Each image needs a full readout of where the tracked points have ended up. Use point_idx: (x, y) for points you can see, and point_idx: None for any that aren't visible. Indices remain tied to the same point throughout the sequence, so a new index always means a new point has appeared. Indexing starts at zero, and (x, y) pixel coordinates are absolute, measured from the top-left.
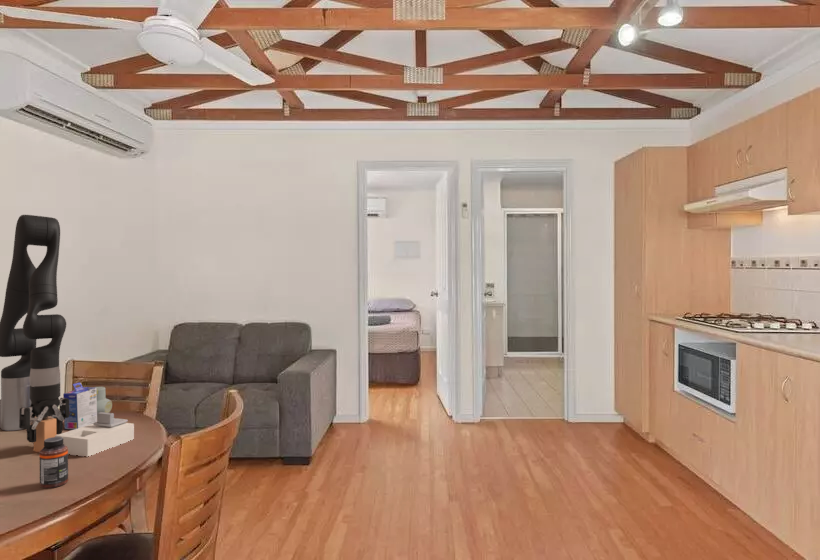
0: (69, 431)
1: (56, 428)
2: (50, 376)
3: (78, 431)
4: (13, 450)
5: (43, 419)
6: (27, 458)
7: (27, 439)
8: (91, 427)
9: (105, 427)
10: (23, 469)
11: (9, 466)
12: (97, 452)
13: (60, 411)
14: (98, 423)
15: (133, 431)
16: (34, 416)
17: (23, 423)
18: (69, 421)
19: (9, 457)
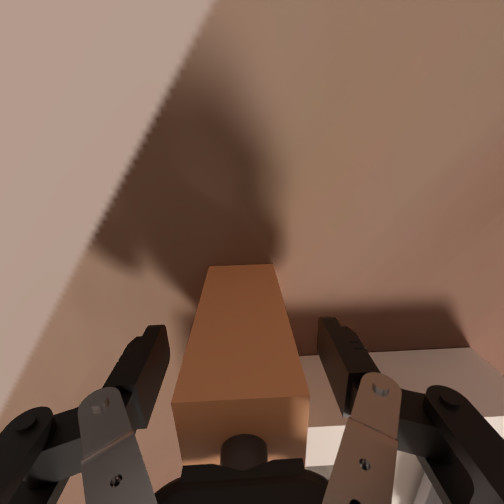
0: (312, 431)
1: (329, 353)
2: None
3: (323, 462)
4: (174, 154)
5: (221, 464)
6: (136, 327)
7: (131, 344)
8: (400, 459)
9: (409, 500)
10: (62, 411)
11: (45, 349)
12: None
13: (459, 455)
14: (430, 493)
15: None
16: (139, 491)
17: (21, 463)
18: None
19: (101, 247)
